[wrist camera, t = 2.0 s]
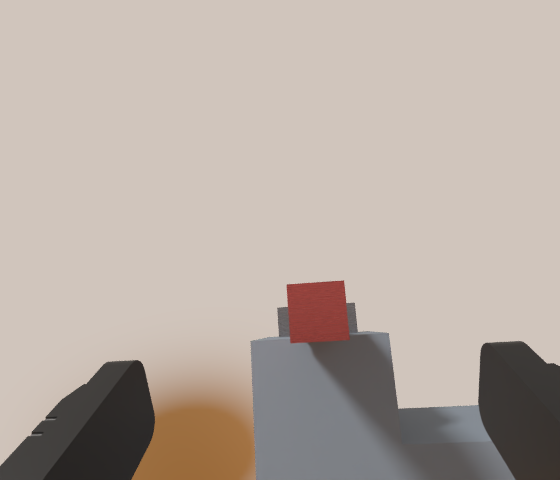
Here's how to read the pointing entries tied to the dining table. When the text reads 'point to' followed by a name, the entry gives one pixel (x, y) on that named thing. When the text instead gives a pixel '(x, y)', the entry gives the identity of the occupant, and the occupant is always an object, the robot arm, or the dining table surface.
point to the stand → (356, 418)
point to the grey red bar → (317, 313)
